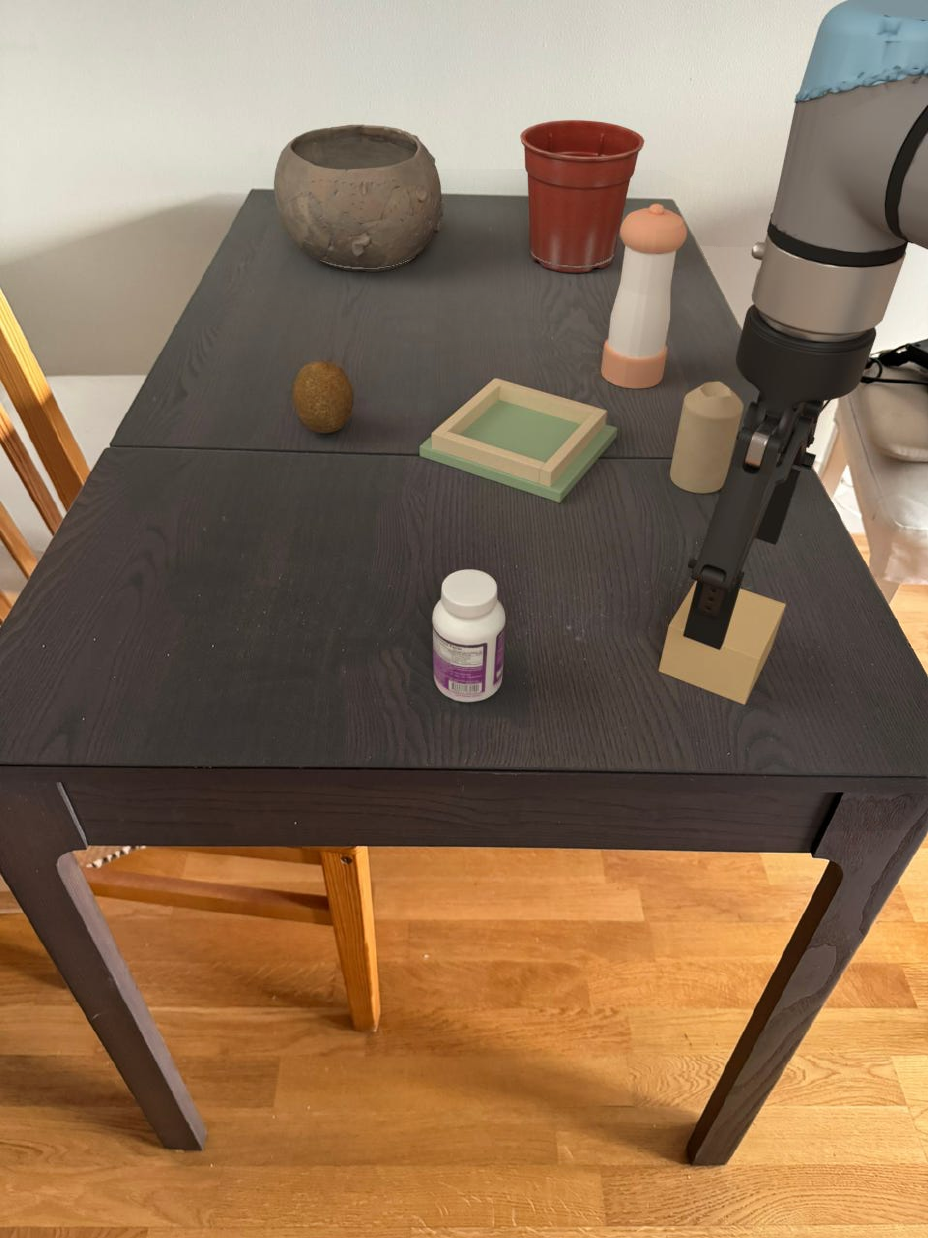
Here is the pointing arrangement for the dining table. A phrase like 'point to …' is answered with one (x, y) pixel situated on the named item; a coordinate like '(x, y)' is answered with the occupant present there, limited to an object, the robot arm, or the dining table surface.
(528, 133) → the flower pot
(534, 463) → the base pad
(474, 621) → the pill bottle
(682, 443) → the candle
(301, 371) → the fruit
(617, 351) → the pepper shaker
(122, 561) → the dining table surface
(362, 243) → the bowl
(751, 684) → the tan rectangular block
